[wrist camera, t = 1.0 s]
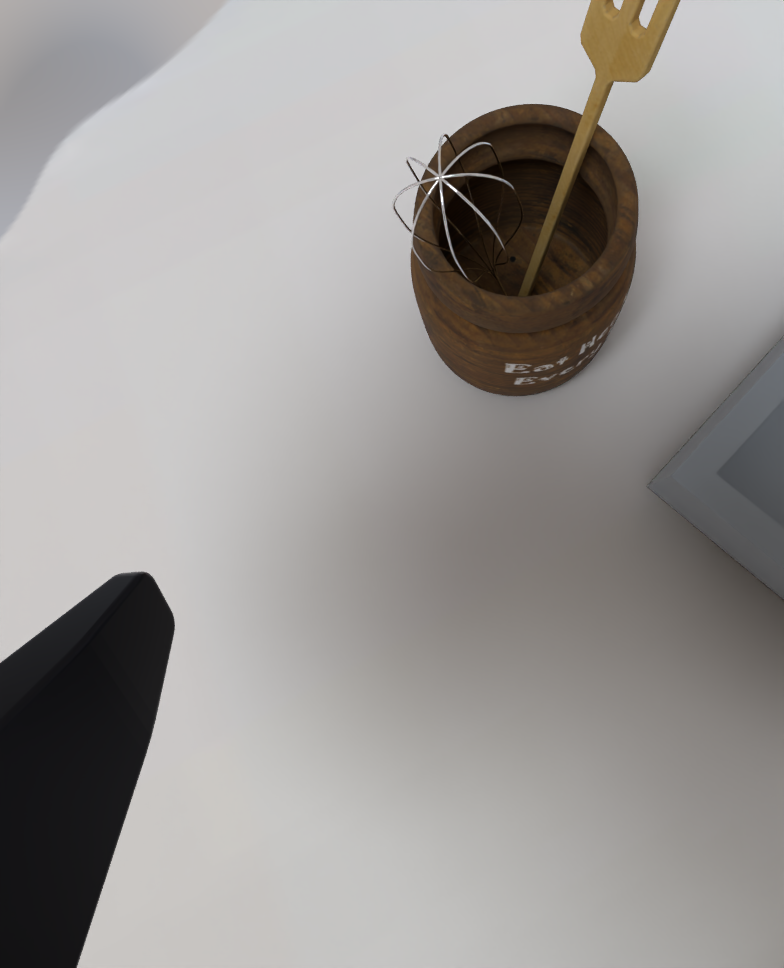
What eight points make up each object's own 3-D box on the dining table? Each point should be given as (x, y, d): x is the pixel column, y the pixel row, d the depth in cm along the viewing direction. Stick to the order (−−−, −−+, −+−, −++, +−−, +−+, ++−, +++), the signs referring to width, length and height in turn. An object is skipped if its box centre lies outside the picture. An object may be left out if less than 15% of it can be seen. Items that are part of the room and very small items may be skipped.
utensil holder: (389, 324, 23) (269, 86, 11) (516, 182, 23) (532, -215, 11) (523, 440, 22) (548, 311, 10) (657, 292, 22) (845, -17, 10)
